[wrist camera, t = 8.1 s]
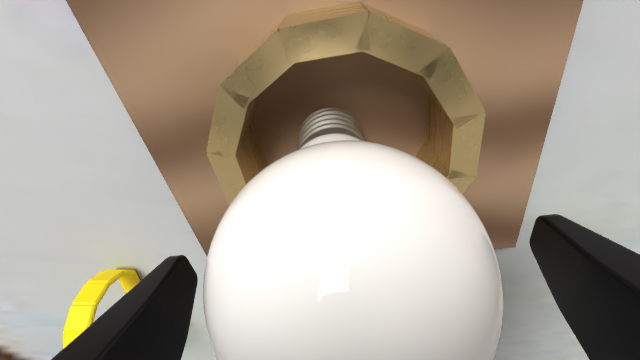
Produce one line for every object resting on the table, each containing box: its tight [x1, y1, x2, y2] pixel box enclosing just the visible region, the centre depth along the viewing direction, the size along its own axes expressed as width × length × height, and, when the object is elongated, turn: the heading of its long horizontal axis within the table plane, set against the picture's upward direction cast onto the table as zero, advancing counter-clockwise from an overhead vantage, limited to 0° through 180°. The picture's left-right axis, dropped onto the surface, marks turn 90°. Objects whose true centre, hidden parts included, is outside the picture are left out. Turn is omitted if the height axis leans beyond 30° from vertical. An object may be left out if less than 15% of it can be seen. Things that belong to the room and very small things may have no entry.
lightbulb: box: [203, 108, 503, 360], centre depth 9 cm, size 6×6×11 cm
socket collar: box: [206, 1, 486, 205], centre depth 13 cm, size 10×10×3 cm
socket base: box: [66, 0, 583, 256], centre depth 14 cm, size 18×18×1 cm
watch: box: [63, 269, 140, 349], centre depth 20 cm, size 6×3×6 cm, turn 1°
